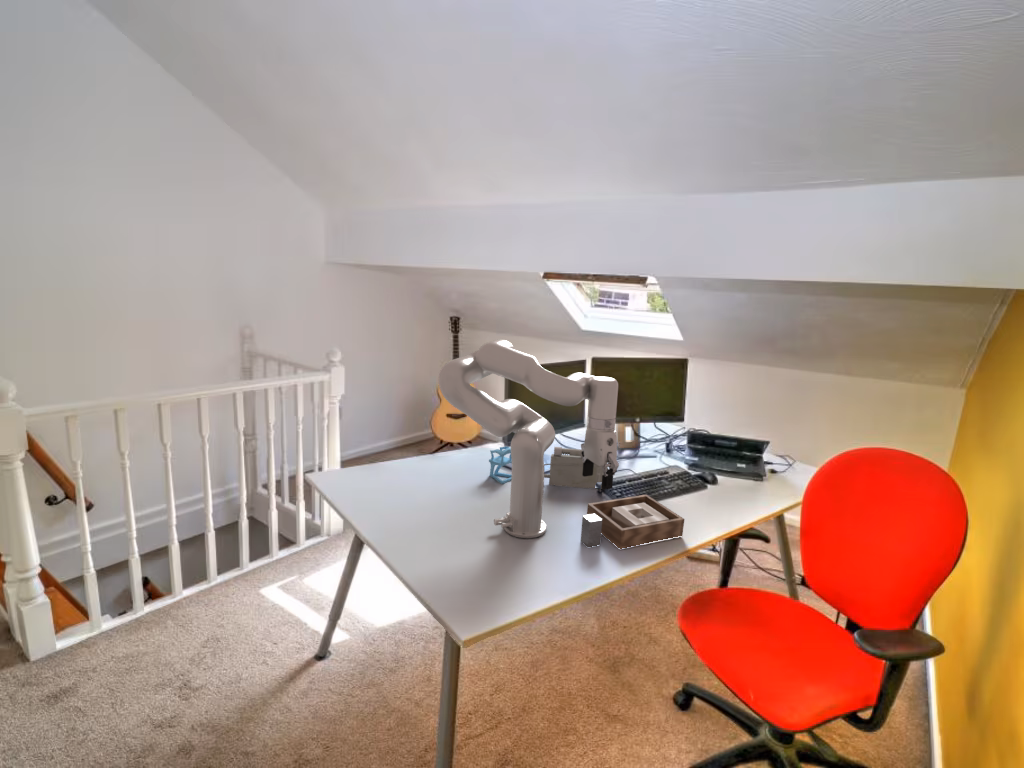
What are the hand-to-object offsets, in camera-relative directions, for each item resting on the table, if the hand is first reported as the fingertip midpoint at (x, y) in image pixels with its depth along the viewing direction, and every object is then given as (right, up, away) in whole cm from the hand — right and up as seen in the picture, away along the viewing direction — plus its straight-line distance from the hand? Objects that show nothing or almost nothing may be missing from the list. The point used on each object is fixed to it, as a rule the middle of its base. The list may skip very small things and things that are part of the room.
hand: (596, 482), depth 152 cm
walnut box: (+13, -17, +14) cm, 25 cm away
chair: (-28, -7, +48) cm, 56 cm away
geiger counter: (-3, -9, +44) cm, 45 cm away
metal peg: (-1, -18, +4) cm, 19 cm away
